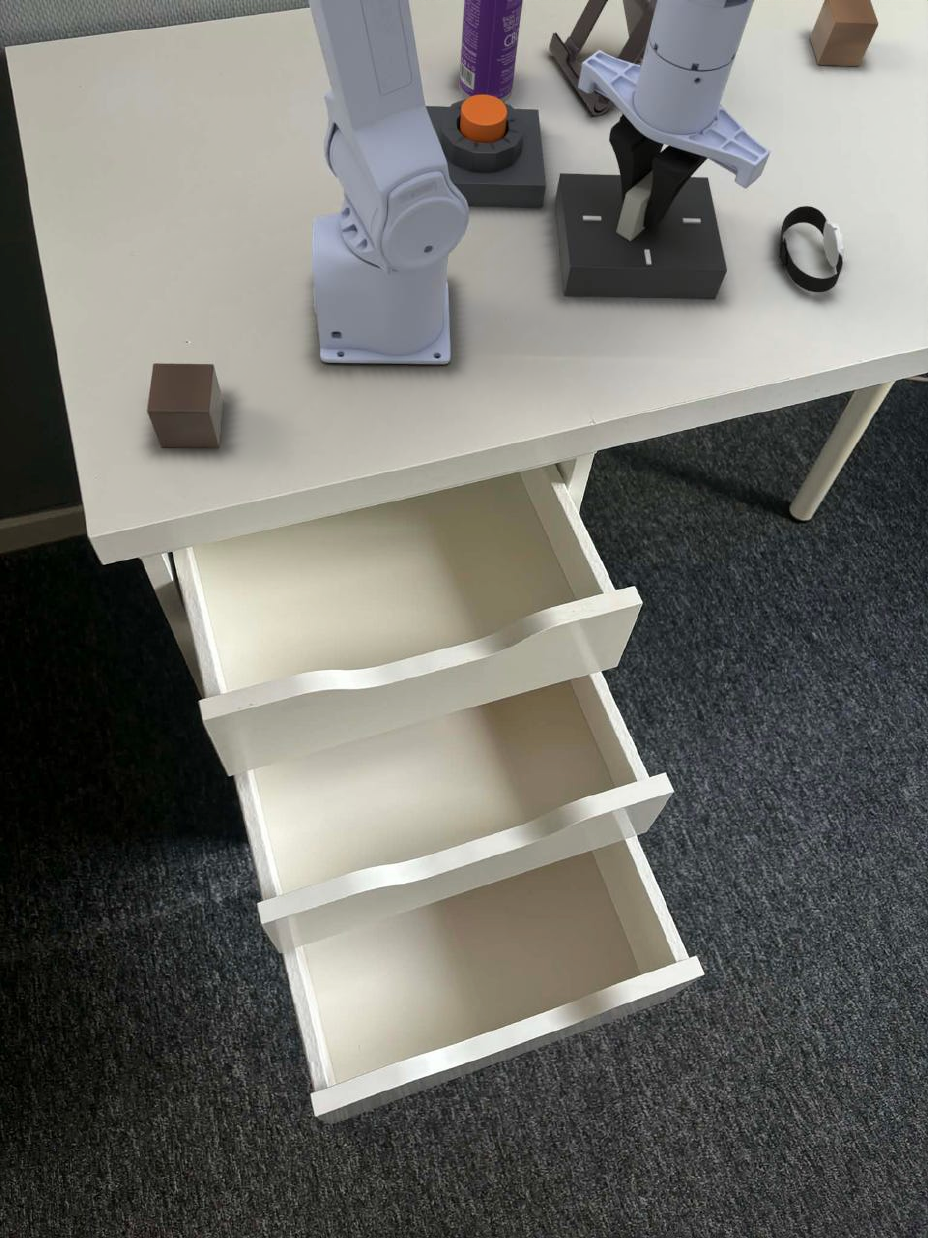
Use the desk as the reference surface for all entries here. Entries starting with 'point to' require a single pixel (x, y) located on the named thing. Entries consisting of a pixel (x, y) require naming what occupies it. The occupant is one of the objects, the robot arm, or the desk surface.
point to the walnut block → (185, 405)
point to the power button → (483, 118)
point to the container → (489, 47)
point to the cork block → (843, 32)
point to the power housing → (494, 159)
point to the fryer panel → (637, 243)
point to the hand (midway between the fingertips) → (643, 215)
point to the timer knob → (635, 208)
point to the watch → (831, 245)
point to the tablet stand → (638, 18)
